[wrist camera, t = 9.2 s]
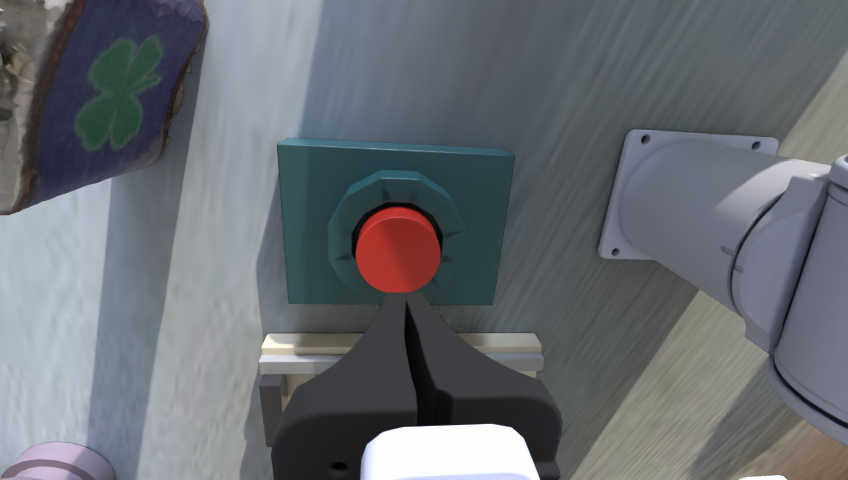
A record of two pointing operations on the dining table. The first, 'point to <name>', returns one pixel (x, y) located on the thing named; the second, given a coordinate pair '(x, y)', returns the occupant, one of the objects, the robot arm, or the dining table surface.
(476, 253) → the control block
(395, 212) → the button
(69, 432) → the dining table surface
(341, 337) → the tap rail
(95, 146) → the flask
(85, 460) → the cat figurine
